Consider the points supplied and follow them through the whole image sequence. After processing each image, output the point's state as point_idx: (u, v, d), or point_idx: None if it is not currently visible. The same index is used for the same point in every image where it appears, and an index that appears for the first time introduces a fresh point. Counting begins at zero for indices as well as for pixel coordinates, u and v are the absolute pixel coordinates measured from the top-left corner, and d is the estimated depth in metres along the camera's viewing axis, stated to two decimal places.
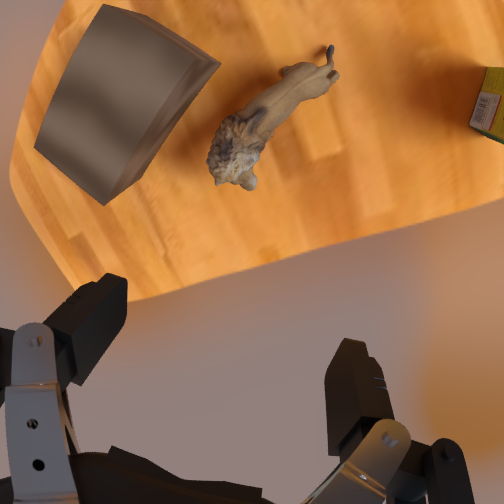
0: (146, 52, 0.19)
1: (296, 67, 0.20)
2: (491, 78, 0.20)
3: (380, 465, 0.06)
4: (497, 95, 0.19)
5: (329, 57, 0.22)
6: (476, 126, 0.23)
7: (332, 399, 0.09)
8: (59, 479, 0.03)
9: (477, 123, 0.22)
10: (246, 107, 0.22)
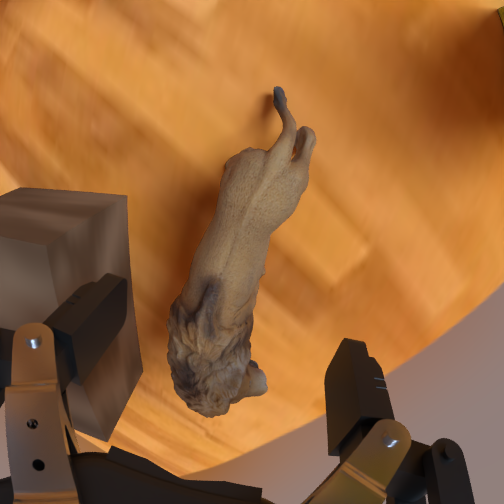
0: (4, 266, 0.12)
1: (228, 175, 0.11)
2: None
3: (380, 465, 0.05)
4: None
5: (282, 111, 0.14)
6: None
7: (332, 399, 0.09)
8: (59, 479, 0.03)
9: None
10: (189, 282, 0.13)
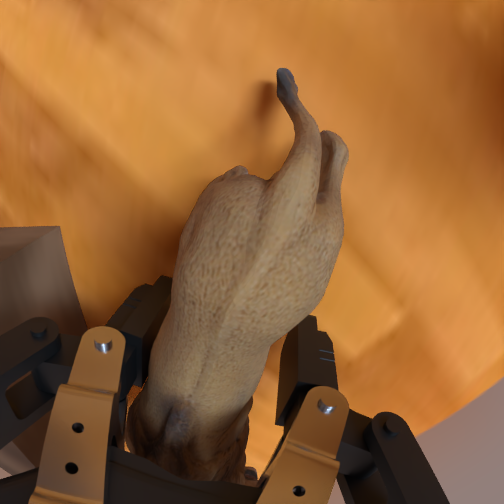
0: None
1: (189, 233, 0.06)
2: None
3: (323, 434, 0.06)
4: None
5: (292, 106, 0.08)
6: None
7: (283, 371, 0.10)
8: (59, 479, 0.03)
9: None
10: (147, 389, 0.08)
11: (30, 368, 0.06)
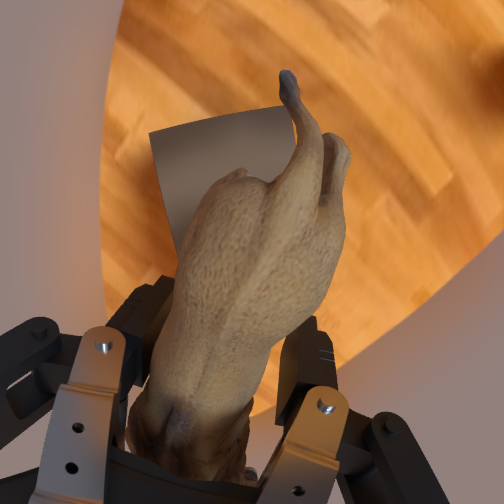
0: (240, 136, 0.20)
1: (192, 235, 0.06)
2: None
3: (323, 434, 0.06)
4: None
5: (295, 108, 0.08)
6: None
7: (283, 371, 0.10)
8: (59, 479, 0.03)
9: None
10: (149, 389, 0.08)
11: (30, 368, 0.06)
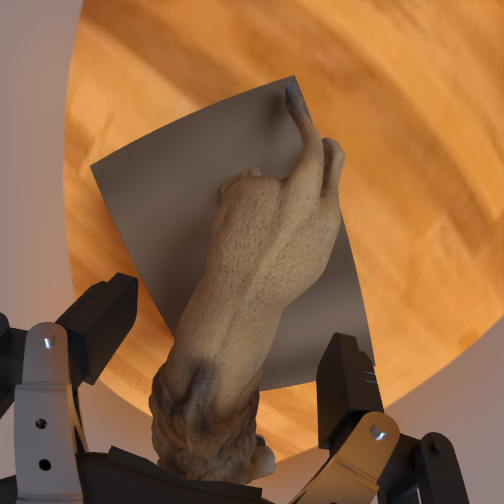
0: (224, 141, 0.12)
1: (223, 219, 0.07)
2: None
3: (369, 458, 0.06)
4: None
5: (299, 117, 0.10)
6: None
7: (323, 393, 0.10)
8: (59, 479, 0.03)
9: None
10: (174, 357, 0.10)
11: None
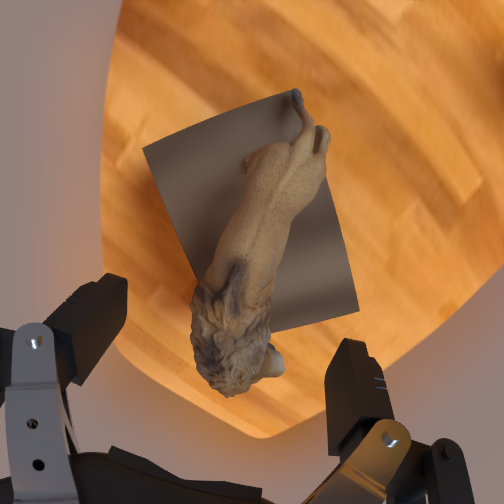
0: (246, 133, 0.17)
1: (256, 163, 0.12)
2: None
3: (380, 465, 0.06)
4: None
5: (300, 111, 0.15)
6: None
7: (332, 399, 0.09)
8: (59, 479, 0.03)
9: None
10: (214, 264, 0.14)
11: None
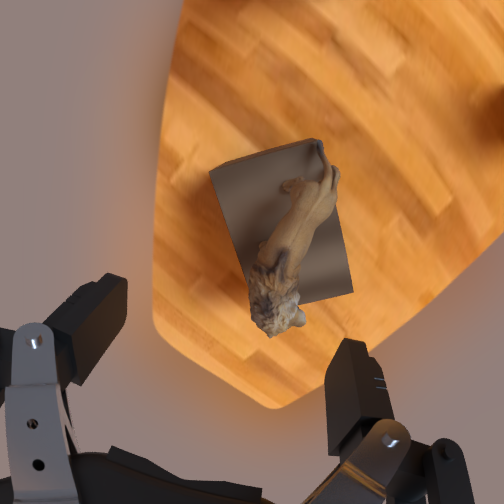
0: (284, 168, 0.27)
1: (298, 193, 0.22)
2: None
3: (380, 465, 0.05)
4: None
5: (322, 157, 0.24)
6: None
7: (332, 399, 0.09)
8: (59, 479, 0.03)
9: None
10: (267, 252, 0.24)
11: None
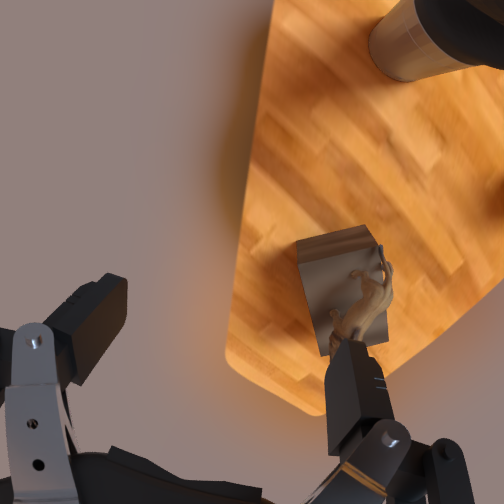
0: (352, 264, 0.37)
1: (370, 294, 0.31)
2: None
3: (380, 465, 0.05)
4: None
5: (383, 259, 0.34)
6: None
7: (332, 399, 0.09)
8: (59, 479, 0.03)
9: None
10: (344, 327, 0.34)
11: None
